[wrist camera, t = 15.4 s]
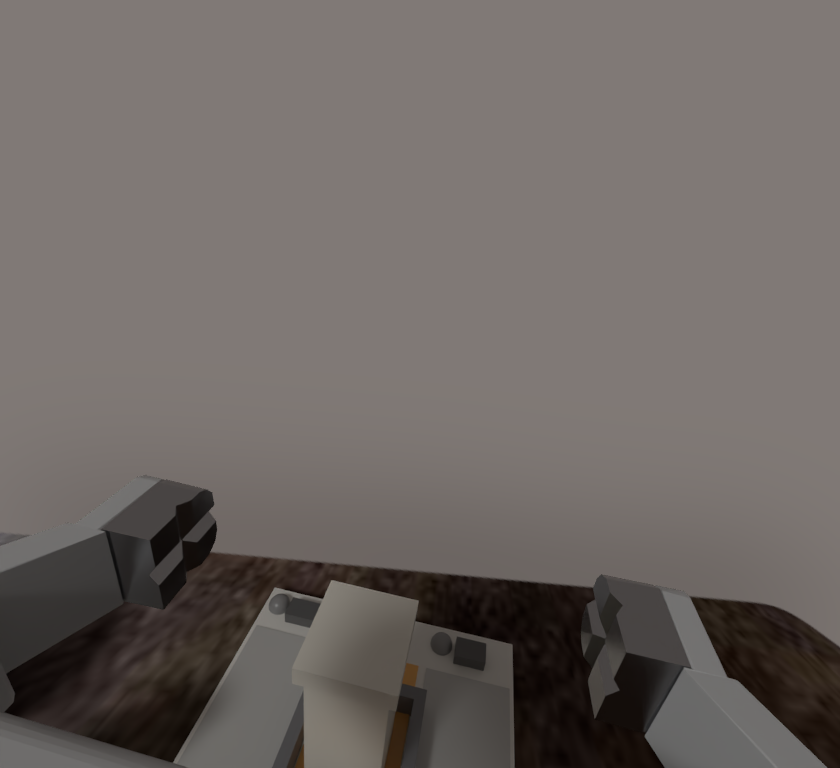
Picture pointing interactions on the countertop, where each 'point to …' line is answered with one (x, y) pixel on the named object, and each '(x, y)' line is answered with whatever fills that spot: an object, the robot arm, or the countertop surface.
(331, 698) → the plug
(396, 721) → the board
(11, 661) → the robot arm
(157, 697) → the countertop surface
